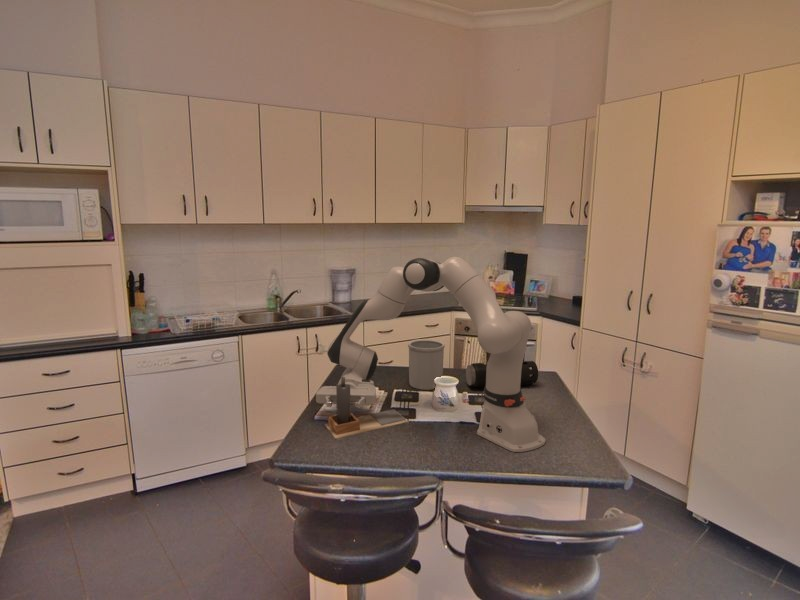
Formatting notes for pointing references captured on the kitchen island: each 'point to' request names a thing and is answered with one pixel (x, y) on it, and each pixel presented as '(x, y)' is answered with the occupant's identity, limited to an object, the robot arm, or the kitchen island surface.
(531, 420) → the robot arm
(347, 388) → the plug
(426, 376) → the utensil holder
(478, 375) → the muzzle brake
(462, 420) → the kitchen island surface
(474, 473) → the kitchen island surface
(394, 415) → the cable board
